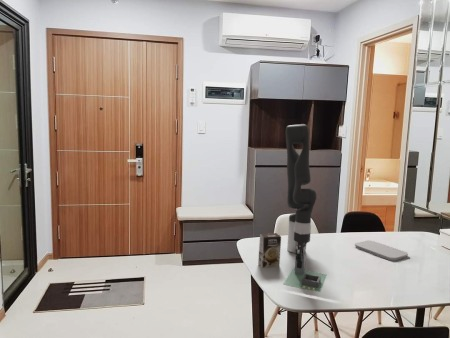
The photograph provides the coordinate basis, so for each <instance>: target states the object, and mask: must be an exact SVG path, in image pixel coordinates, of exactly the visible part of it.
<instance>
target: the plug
mask: <svg viewBox="0 0 450 338" xmlns="http://www.w3.org/2000/svg"><path fill="white" fill-rule="evenodd" d="M298 258H300V257H298ZM306 258H307V251H306V252H305V251H304V256H303V258H302V268H297V260H296V258H295V259H294V260H295V261H294V263H295V264H294V268H295V273H296V274H301V275H303V274H304V272H305V270H306Z"/></svg>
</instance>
